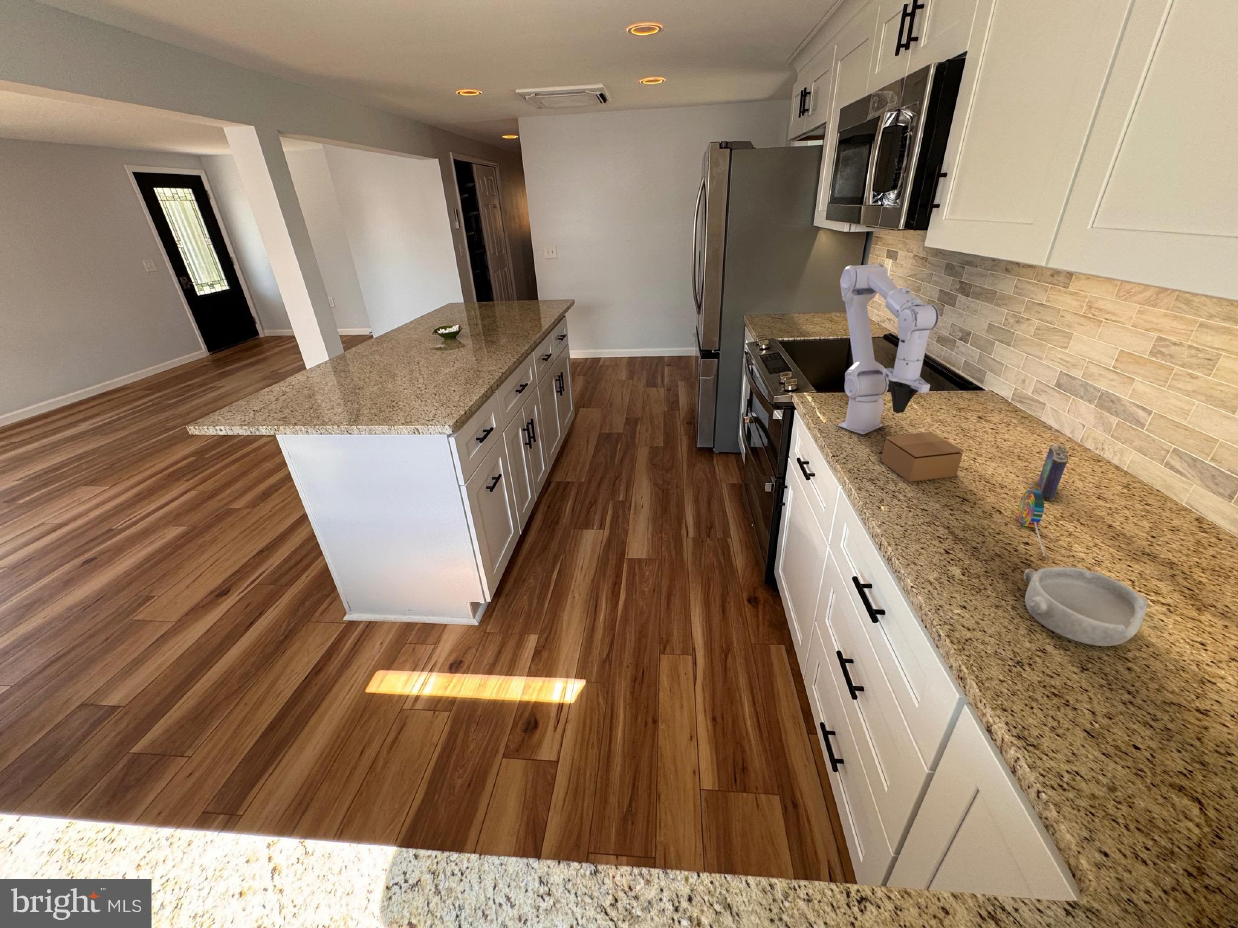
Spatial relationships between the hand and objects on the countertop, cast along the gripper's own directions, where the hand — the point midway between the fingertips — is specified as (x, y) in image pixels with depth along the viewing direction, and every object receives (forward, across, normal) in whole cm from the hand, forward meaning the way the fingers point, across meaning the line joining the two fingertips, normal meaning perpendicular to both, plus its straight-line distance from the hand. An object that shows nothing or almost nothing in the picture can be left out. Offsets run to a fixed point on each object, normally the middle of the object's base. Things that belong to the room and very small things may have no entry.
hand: (898, 412), depth 126 cm
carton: (+11, +10, 0) cm, 15 cm away
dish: (+12, +58, -8) cm, 60 cm away
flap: (+4, +8, 0) cm, 9 cm away
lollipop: (+11, +39, +3) cm, 40 cm away
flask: (+11, +26, +19) cm, 34 cm away
